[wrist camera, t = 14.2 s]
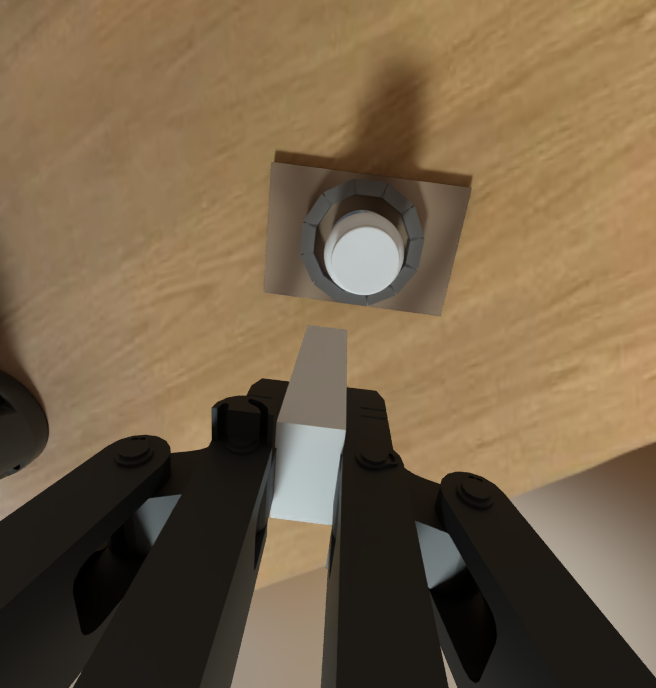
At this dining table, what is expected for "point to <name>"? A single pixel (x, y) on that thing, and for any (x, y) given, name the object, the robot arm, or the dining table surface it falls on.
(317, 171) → the holder
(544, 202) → the dining table surface
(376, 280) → the pill bottle
